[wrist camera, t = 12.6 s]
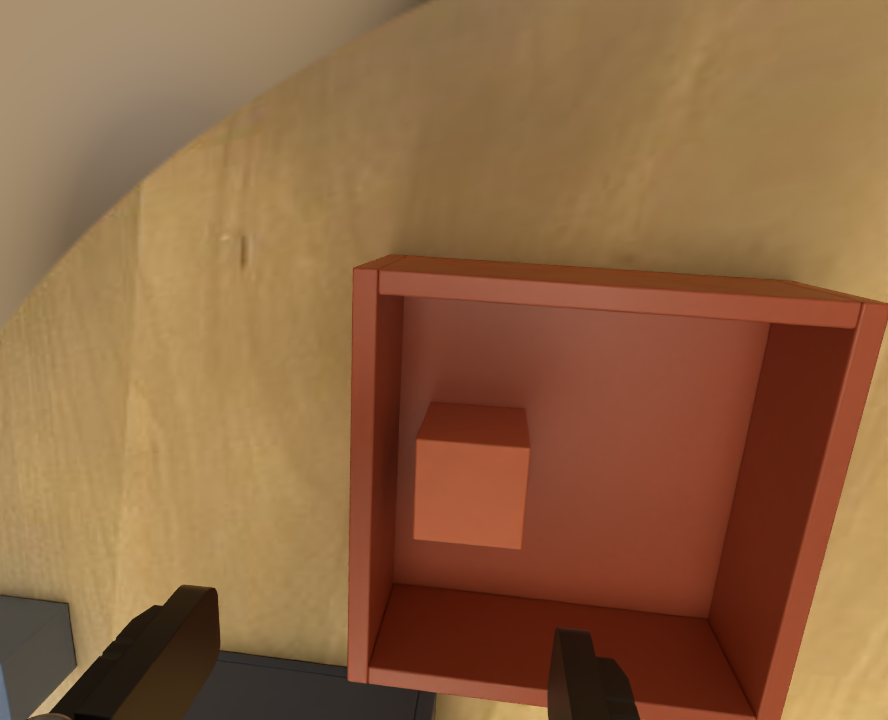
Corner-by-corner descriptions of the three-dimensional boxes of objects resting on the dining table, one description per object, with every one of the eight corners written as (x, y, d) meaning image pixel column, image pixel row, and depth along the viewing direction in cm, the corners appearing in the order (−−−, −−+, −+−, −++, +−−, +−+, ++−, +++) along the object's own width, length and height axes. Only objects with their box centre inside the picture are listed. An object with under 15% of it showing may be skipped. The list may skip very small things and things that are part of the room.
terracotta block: (426, 488, 24) (412, 539, 20) (430, 401, 23) (415, 438, 19) (518, 496, 24) (522, 550, 20) (526, 408, 23) (531, 447, 19)
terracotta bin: (378, 586, 26) (346, 681, 21) (388, 254, 22) (352, 267, 17) (717, 626, 25) (776, 739, 20) (793, 280, 21) (893, 304, 16)
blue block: (7, 657, 30) (-66, 722, 26) (-4, 594, 29) (-82, 652, 25) (76, 667, 30) (13, 734, 26) (67, 603, 29) (0, 663, 25)
